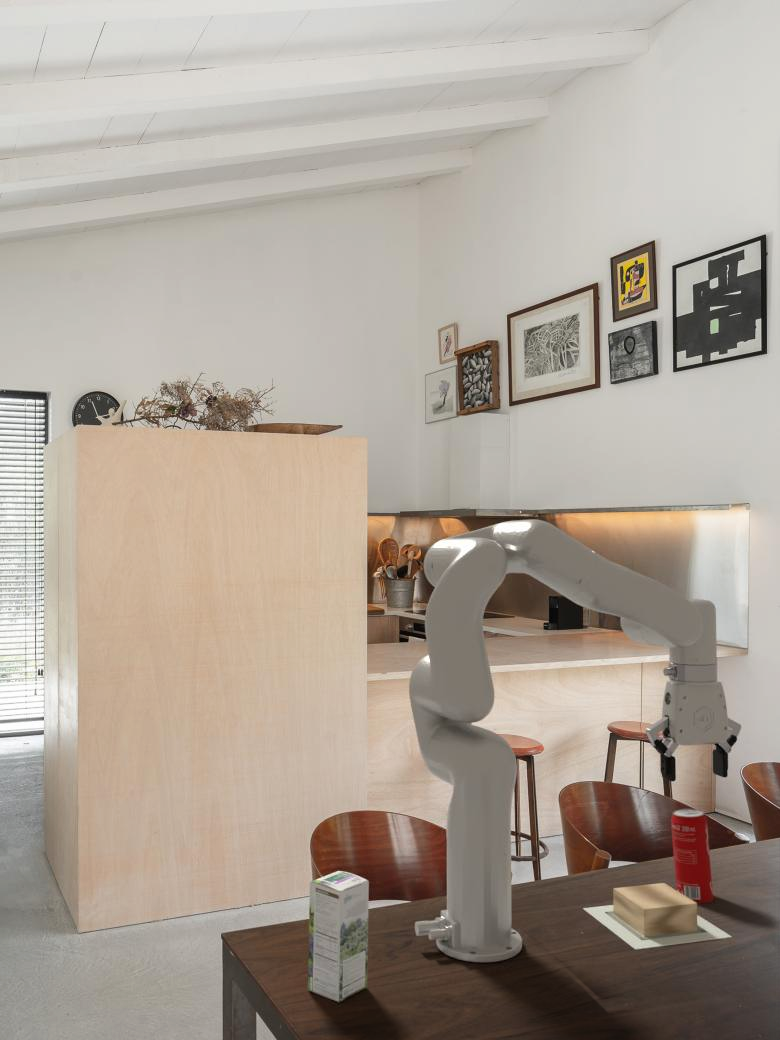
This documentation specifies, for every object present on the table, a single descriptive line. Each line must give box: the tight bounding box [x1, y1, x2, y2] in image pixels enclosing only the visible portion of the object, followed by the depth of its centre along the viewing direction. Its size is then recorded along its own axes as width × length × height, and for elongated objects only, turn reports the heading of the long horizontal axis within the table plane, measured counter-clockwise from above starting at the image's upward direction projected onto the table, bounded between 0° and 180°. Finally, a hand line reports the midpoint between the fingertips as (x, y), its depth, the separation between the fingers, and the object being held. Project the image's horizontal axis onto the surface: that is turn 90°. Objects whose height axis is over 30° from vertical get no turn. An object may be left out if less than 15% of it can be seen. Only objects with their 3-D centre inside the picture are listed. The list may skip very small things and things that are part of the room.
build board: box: [582, 904, 732, 951], centre depth 143 cm, size 16×16×1 cm
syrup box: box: [307, 870, 370, 1003], centre depth 124 cm, size 6×6×14 cm
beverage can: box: [670, 807, 714, 904], centre depth 155 cm, size 6×6×15 cm
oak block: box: [612, 882, 698, 937], centre depth 144 cm, size 9×9×4 cm
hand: (694, 777), depth 155 cm, fingers open, 9 cm apart
